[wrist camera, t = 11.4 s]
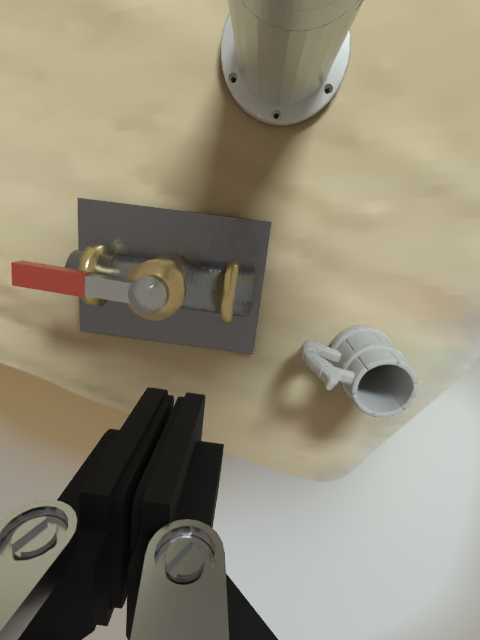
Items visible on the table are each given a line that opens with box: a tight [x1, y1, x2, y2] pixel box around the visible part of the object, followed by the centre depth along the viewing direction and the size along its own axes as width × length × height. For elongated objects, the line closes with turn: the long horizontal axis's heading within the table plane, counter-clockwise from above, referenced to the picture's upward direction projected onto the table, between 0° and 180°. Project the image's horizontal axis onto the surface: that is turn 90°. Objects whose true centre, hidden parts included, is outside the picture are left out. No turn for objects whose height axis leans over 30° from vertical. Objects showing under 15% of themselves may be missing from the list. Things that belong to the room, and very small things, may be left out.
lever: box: [11, 261, 170, 315], centre depth 33 cm, size 15×4×2 cm, turn 81°
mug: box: [301, 326, 418, 417], centre depth 37 cm, size 8×12×12 cm, turn 77°
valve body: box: [65, 198, 271, 354], centre depth 38 cm, size 16×22×8 cm
